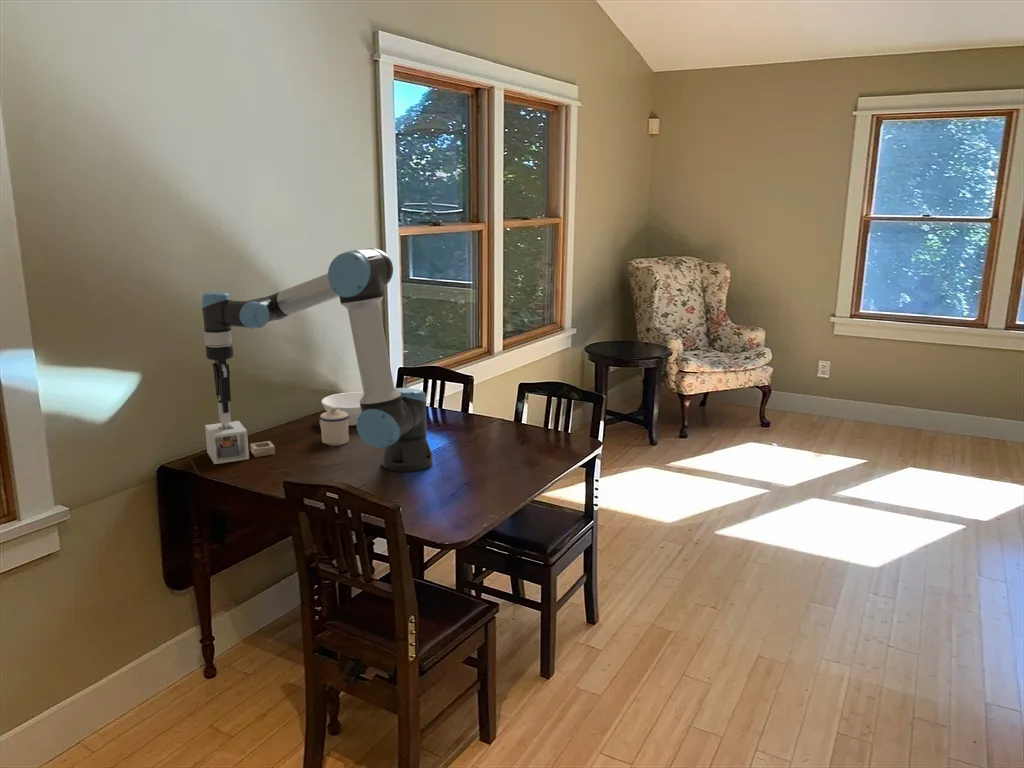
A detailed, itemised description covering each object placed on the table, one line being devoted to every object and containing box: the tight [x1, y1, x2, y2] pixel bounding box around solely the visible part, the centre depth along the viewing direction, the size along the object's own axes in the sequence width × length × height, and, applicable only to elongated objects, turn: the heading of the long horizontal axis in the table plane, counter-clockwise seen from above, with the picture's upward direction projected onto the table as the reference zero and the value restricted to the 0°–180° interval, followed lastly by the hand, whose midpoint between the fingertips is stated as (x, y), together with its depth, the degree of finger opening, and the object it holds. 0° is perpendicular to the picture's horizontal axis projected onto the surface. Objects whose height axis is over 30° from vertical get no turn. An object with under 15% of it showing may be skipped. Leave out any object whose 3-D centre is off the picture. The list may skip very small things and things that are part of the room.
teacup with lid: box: [319, 407, 350, 447], centre depth 256 cm, size 12×9×12 cm
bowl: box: [321, 391, 364, 426], centre depth 278 cm, size 21×21×8 cm
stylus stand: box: [250, 440, 276, 458], centre depth 244 cm, size 6×6×3 cm
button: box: [221, 438, 233, 448], centre depth 240 cm, size 3×3×4 cm
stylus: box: [218, 395, 232, 442], centre depth 238 cm, size 2×2×14 cm
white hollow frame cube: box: [204, 420, 250, 465], centre depth 240 cm, size 12×10×9 cm
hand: (225, 421), depth 238 cm, fingers closed on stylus, 2 cm apart
